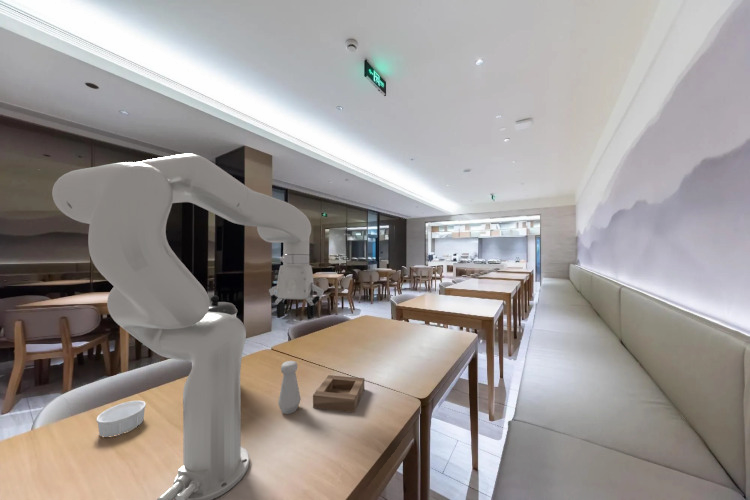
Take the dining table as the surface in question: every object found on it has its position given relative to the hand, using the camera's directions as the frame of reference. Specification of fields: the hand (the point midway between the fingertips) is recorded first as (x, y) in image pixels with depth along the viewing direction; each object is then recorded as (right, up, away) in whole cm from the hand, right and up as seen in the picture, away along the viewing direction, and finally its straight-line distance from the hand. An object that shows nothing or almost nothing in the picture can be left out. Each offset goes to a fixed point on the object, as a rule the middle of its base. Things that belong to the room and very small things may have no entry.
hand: (295, 317), depth 78 cm
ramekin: (-40, -25, -13) cm, 48 cm away
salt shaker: (0, -24, -6) cm, 25 cm away
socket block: (+14, -24, -1) cm, 27 cm away
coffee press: (-26, -25, +4) cm, 36 cm away
